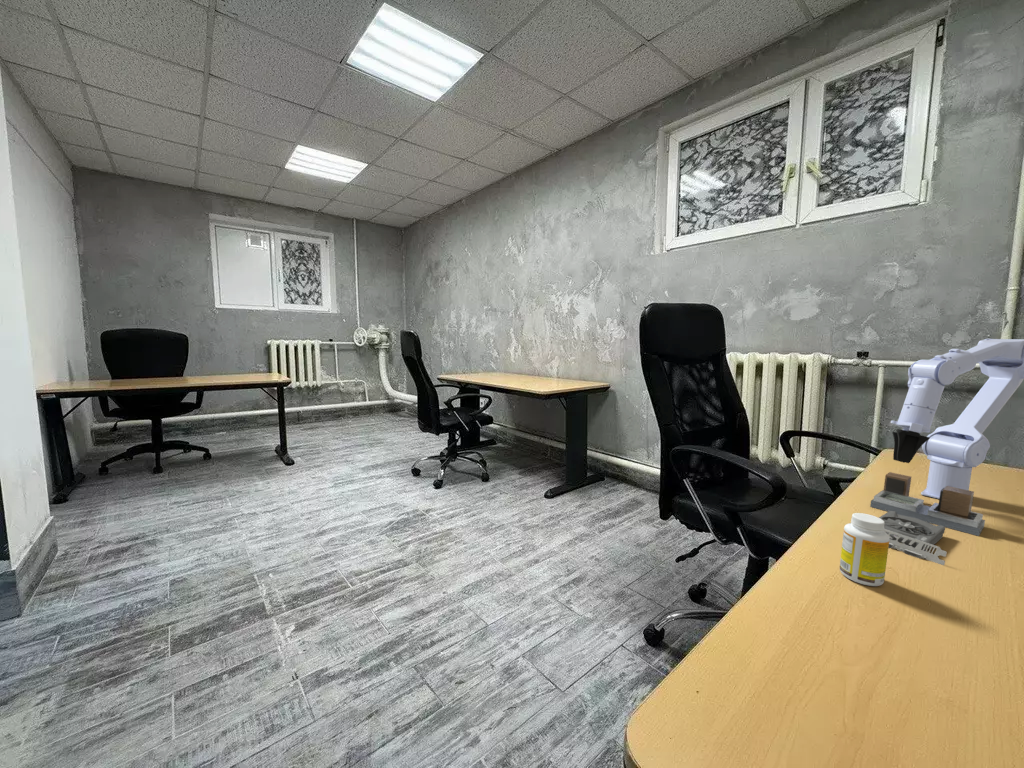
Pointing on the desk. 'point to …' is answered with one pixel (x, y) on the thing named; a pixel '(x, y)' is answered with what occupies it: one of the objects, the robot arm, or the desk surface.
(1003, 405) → the robot arm
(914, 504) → the grey block holder
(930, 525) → the graphics card
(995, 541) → the desk surface
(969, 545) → the desk surface
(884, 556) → the supplement bottle
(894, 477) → the walnut block
